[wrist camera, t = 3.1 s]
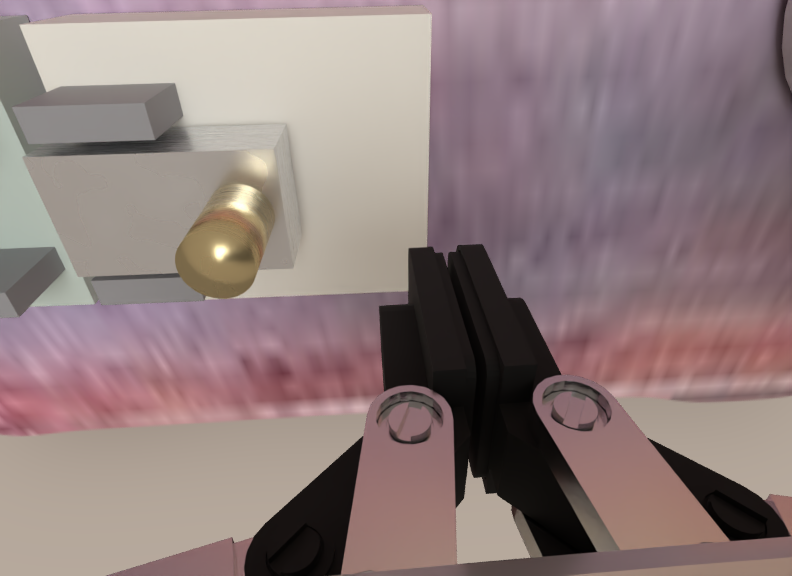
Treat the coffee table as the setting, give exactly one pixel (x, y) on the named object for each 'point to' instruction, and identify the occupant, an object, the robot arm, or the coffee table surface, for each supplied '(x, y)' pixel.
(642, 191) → the coffee table surface
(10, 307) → the door jamb
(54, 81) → the door board
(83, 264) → the bolt
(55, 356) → the coffee table surface
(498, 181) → the coffee table surface
